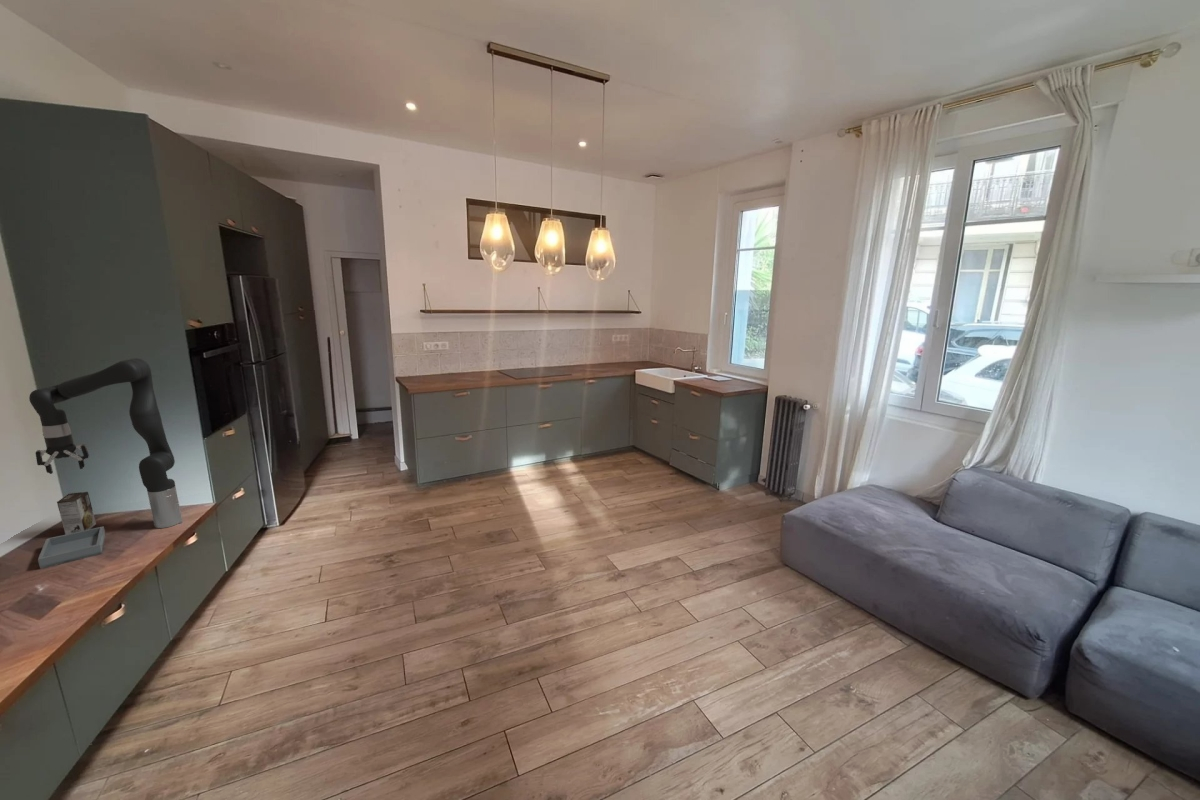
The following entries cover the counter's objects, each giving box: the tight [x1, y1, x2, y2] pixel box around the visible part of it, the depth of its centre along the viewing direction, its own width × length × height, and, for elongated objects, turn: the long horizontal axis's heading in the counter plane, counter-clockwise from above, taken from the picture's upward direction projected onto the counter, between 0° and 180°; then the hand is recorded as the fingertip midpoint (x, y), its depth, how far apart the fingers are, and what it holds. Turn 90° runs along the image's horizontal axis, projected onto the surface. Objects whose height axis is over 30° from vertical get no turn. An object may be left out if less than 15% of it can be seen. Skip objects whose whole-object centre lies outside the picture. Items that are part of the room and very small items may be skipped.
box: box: [37, 526, 106, 570], centre depth 186 cm, size 16×20×4 cm
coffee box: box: [56, 491, 97, 535], centre depth 200 cm, size 9×6×16 cm
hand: (66, 470), depth 196 cm, fingers open, 8 cm apart
